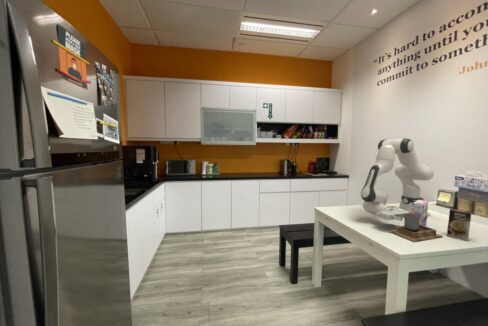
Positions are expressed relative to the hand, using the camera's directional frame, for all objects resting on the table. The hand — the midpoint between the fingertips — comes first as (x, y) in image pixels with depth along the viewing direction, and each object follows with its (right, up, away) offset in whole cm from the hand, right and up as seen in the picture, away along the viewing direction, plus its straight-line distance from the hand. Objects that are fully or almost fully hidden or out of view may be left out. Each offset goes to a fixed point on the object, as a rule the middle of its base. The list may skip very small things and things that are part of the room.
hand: (407, 218), depth 131 cm
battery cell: (+1, -8, -2) cm, 9 cm away
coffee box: (+28, -11, -3) cm, 30 cm away
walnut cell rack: (+5, -10, -1) cm, 11 cm away
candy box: (+20, -9, +16) cm, 27 cm away
